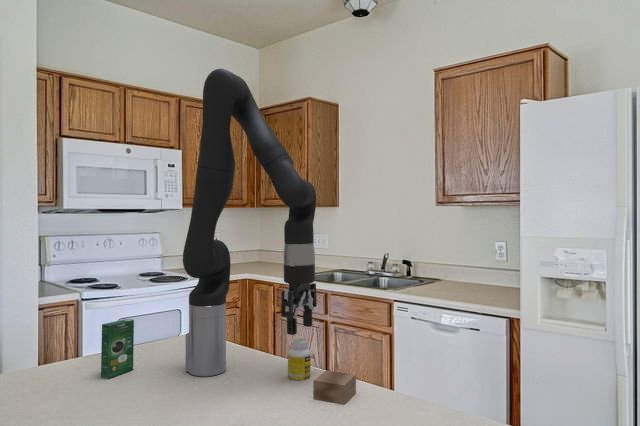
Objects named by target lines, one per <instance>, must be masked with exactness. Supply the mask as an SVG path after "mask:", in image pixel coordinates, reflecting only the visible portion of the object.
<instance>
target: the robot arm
mask: <svg viewBox="0 0 640 426" xmlns="http://www.w3.org/2000/svg"><path fill="white" fill-rule="evenodd" d="M202 88H203V89H202V121H201V122H202V123H201V124H202V125H201V134H200V141H199V142H200V143H199V152H198V161H197V163H196V166H197V167H196V174H195V185H194V194H193V198H192V200H193V201H192V206H191V214H190V220H189V226H188V229H187V234H186V237H185V242H184V247H183V252H182V265H183V268H184V270H185V272H186V274H187V275H188V276H190V277H191V278H194V279H198V282H197V284H196V285H195V287H194V288H193V289H192V290H191V291H190V292H189V295H188V332H187V333H186V334H185V368H184V370H185V372H188V373H189V374H190V375H192V376H197V377H212V376H213V377H214V376H216V375H219V374H220V375H221V374H223V373H224V372H226V371H227V296H228V294H229V290H230V285H231V284H230V282H231V280H230V279H231V254H230V251H229V248H228V246H227V245H226V244H225V242H223V241H221V240H218V239H215V237H216V236H215V234H216V229H217V223H218V221H219V218H220V216H221V214H222V212H223V210H224V209H225V207H226V205H227V203H228V201H229V199H230V197H231V194H232V191H233V188H234V178H235V170H236V159H235V154H234V148H233V143H232V137H231V120H232V117H233V118H234V120H235V121H236V122H237V123H238V124H239V126H240V127H241V128H242V130H243V132H244V134H245V136H246V138H247V141H248V143H249V147H250V149H251V151H252V153H253V154H254V156H255V158H256V160H257V161H258V162H259V164H260V166H261V167H262V168H263V170H264V171H265V173H266V174H267V175H268V177H269V179H270V181H271V184H272V186H273V188H274V190H275V192H276V195H278V198H279V199H280V200H281V202H282V203H283V204H284V205H285V206H286V207H288V208H289V209H288V218H287V220H286V221H285V222H284V226H283V233H284V240H283V241H284V242H283V243H284V245H283V254H282V255H283V282H284V283H285V284H288V285H289V286H288V290H282V291H281V293H280V294H281V296H280V297H281V300H280V301H281V303H280V305H281V306H280V308H281V309H280V311H281V313H280V316H281V318H285V319H286V333H287V335H290V336H296V335H297V333H298V323H297V322H298V319H297V316H298V313H299V311H300V310H303V311H302V324H303V326H304V327H309V328H310V327H312V326H313V311H314V308H317V305H318V301H317V283H316V282H315V281H316V264H315V263H316V250H315V246H314V245H315V244H314V243H315V242H314V241H315V240H314V237H315V236H314V221H315V216H316V215H315V214H316V205H317V193H316V192H317V191H316V189H315V186H314V185H313V184H312V183H311V182H310V181H308V180H306V179H303V178H302V177H301V176H300V175H299V172H297V170H296V168H295V167H294V161H293V159H292V157H291V155H290V154H289V153H288V152H287V150H286V148H285V147H284V145H283V144H282V142H281V141H280V140H279V138H278V136H277V135H276V134H275V133H274V131H273V130H272V128H271V127H270V126H269V124H268V122H267V121H266V119H265V117H264V115H263V114H262V112H261V110H260V108H259V106H258V104H257V102H256V100H255V98H254V96H253V94H252V91H251V89H250V88H249V85H248V83H247V82H246V80H244V79H243V78H242V77H241V76H239V75H237V74H235V73H233V72H231V71H230V70H228V69H225V68H217V69H214V70H213V71H211V72H210V73H208V75H207V76H206V78H205V81H204V83H203V87H202Z"/></svg>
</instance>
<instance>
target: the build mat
mask: <svg viewBox="0 0 640 426" xmlns="http://www.w3.org/2000/svg"><path fill="white" fill-rule="evenodd" d="M360 394H361V393H360V392H359V391H356V393H355V394H354V395H353V396H352V397H351V398H350V399H349V400H348V401H347V402H346V403H345V404H344V405H343V404H338V403H332V402H326V401H321V400H315V399H313V396H311V398H309V400H308V401H311V402H317V403H322V404H323V403H324V404H329V405H334V406H341V407H345V408H346V407H348V405H350V404H351V402H352V401H353V400H355V398H356V397H358V395H360Z"/></svg>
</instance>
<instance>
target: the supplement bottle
mask: <svg viewBox="0 0 640 426" xmlns="http://www.w3.org/2000/svg"><path fill="white" fill-rule="evenodd" d="M290 341H291V342H290V347H291V348H290V349H289V350H288V353H287V378H288V379H289V380H291V381H307V380H308V379H310V378H311V360H312V359H311V357H312V356H311V354H312V353H311V350H310V349H309V348H308V345H309V340H308V339H306V338H293V339H291V340H290Z"/></svg>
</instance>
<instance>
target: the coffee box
mask: <svg viewBox="0 0 640 426" xmlns="http://www.w3.org/2000/svg"><path fill="white" fill-rule="evenodd" d="M134 330H135V319H132V318H125V319H121V320H116V321H111V322H106V323H102V324H101V357H100V358H101V359H100V360H101V361H100V365H101V366H100V378H102V379H105V380H108V379H111V378H116V377H117V376H119V375H122V374H126V373H129V372H131V371H134V343H135V341H134V339H135V331H134Z"/></svg>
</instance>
